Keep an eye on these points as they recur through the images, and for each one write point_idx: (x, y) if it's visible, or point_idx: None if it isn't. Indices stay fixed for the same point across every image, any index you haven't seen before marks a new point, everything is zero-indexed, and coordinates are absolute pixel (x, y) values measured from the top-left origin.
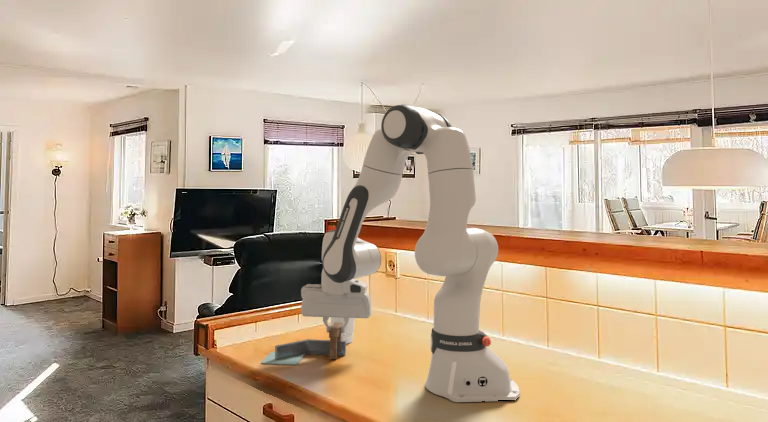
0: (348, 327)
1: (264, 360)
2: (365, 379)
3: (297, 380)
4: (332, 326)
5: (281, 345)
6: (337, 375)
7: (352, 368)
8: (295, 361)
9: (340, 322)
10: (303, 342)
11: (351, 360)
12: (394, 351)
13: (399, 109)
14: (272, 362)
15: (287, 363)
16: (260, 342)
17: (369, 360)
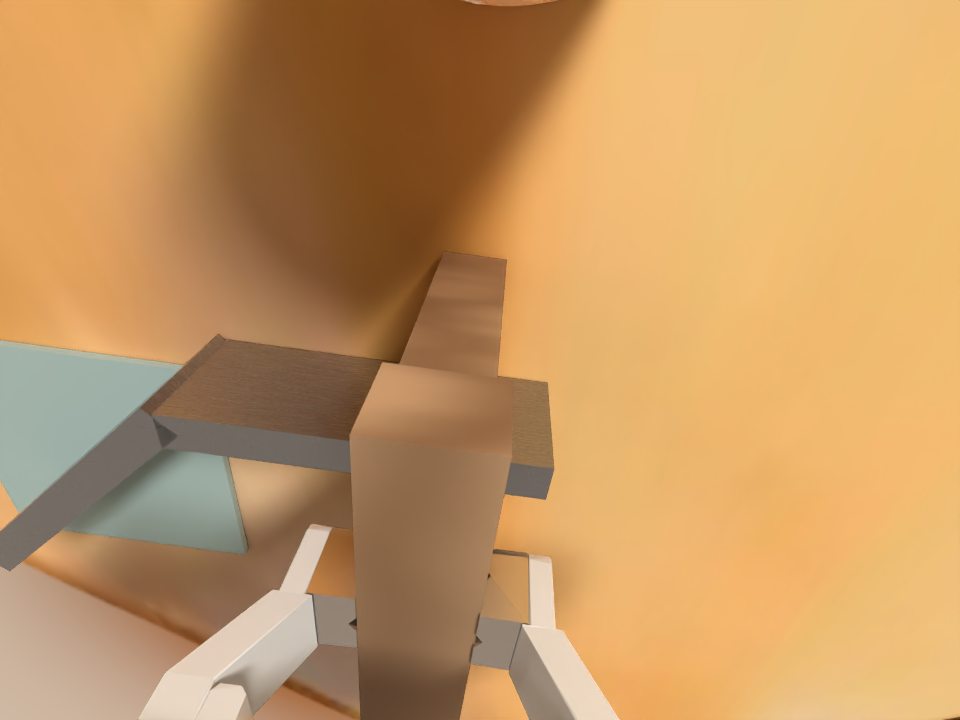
0: None
1: (18, 496)
2: (622, 690)
3: (322, 675)
4: (365, 626)
5: (18, 551)
6: None
7: (574, 598)
8: (214, 519)
9: (467, 454)
10: (137, 468)
11: (582, 496)
12: None
13: None
14: (89, 526)
15: (183, 542)
16: None
17: (716, 501)
